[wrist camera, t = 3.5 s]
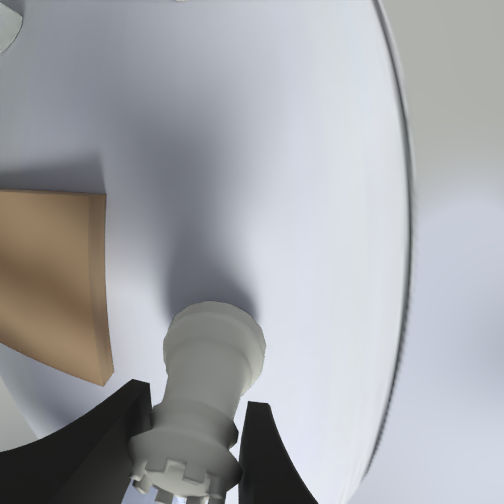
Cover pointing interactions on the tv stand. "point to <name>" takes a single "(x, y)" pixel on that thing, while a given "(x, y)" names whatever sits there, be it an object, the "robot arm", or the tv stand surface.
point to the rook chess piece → (199, 405)
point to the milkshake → (8, 26)
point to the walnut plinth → (55, 280)
